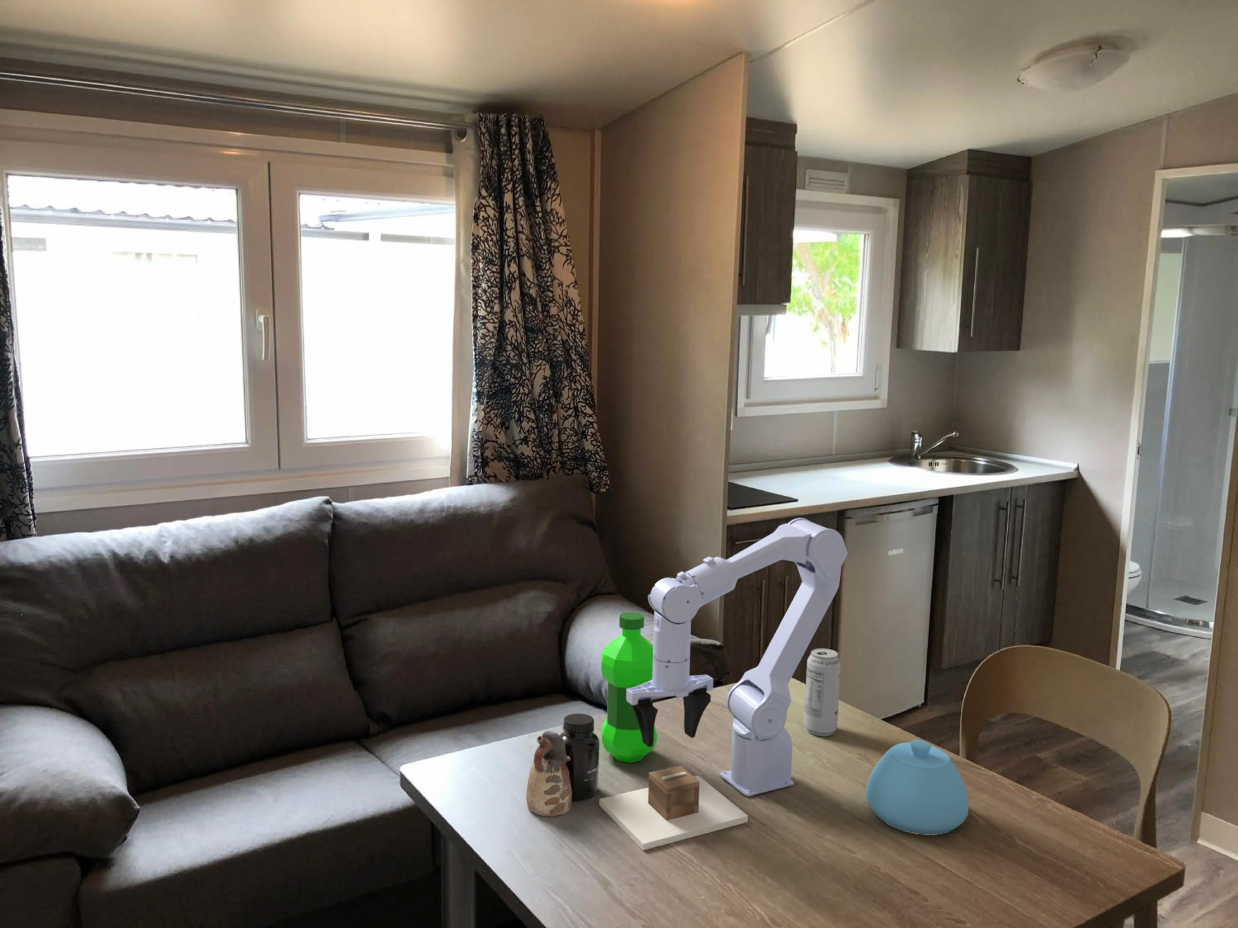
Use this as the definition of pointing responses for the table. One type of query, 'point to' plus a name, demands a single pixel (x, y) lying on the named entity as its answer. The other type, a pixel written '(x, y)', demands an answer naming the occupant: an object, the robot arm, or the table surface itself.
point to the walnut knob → (673, 792)
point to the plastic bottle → (622, 670)
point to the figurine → (549, 777)
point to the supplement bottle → (581, 754)
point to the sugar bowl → (918, 789)
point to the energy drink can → (822, 692)
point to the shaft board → (656, 831)
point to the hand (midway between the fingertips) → (668, 739)
